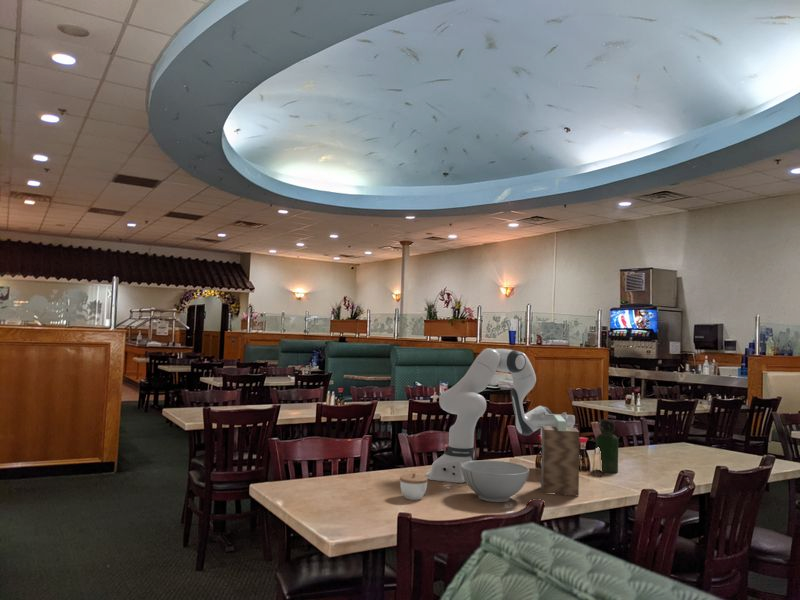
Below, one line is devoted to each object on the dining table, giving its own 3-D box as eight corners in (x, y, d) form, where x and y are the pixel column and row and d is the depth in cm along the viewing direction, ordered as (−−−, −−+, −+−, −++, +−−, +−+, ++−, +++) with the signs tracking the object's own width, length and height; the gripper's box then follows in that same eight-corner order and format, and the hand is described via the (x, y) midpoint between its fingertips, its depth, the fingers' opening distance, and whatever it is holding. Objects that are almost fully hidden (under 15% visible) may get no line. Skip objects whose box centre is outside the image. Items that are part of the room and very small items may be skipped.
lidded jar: (399, 493, 242) (400, 469, 243) (426, 495, 242) (427, 471, 242) (398, 500, 231) (399, 475, 232) (427, 502, 231) (428, 477, 232)
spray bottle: (609, 468, 308) (610, 418, 309) (622, 473, 298) (622, 421, 299) (591, 468, 305) (592, 418, 306) (603, 473, 295) (604, 421, 296)
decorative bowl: (449, 500, 235) (450, 468, 236) (474, 486, 259) (474, 457, 260) (516, 511, 223) (517, 477, 223) (536, 496, 246) (537, 465, 247)
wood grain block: (543, 493, 250) (544, 429, 252) (541, 486, 262) (542, 425, 264) (578, 496, 248) (579, 431, 250) (574, 489, 260) (575, 427, 262)
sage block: (558, 430, 250) (558, 421, 251) (553, 424, 271) (553, 415, 271) (565, 431, 250) (566, 421, 250) (560, 424, 270) (560, 415, 271)
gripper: (529, 417, 299) (531, 406, 287) (572, 419, 296) (576, 408, 284) (529, 430, 295) (531, 418, 284) (573, 432, 292) (576, 420, 281)
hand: (554, 413), depth 284 cm, fingers open, 8 cm apart
